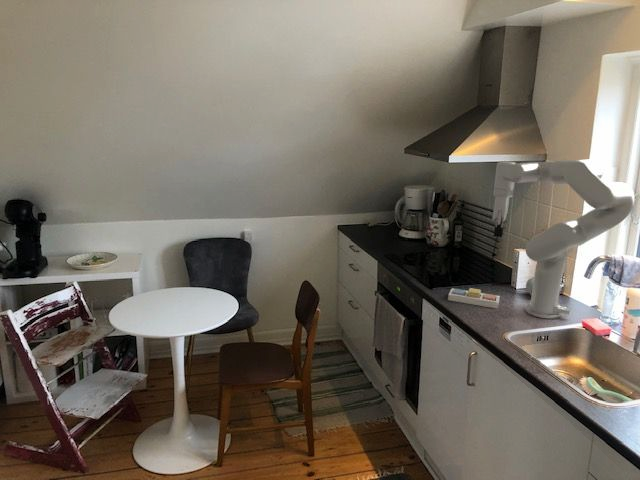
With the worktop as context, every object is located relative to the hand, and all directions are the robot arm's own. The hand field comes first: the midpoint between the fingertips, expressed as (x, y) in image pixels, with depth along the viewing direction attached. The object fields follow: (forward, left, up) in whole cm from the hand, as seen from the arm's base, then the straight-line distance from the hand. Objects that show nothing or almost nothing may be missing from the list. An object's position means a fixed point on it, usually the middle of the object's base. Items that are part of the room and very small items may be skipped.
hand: (498, 236), depth 210 cm
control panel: (+4, +14, -25) cm, 29 cm away
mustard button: (+4, +14, -24) cm, 28 cm away
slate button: (+10, +14, -25) cm, 30 cm away
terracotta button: (-2, +13, -25) cm, 28 cm away
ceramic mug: (-18, -8, -25) cm, 32 cm away
